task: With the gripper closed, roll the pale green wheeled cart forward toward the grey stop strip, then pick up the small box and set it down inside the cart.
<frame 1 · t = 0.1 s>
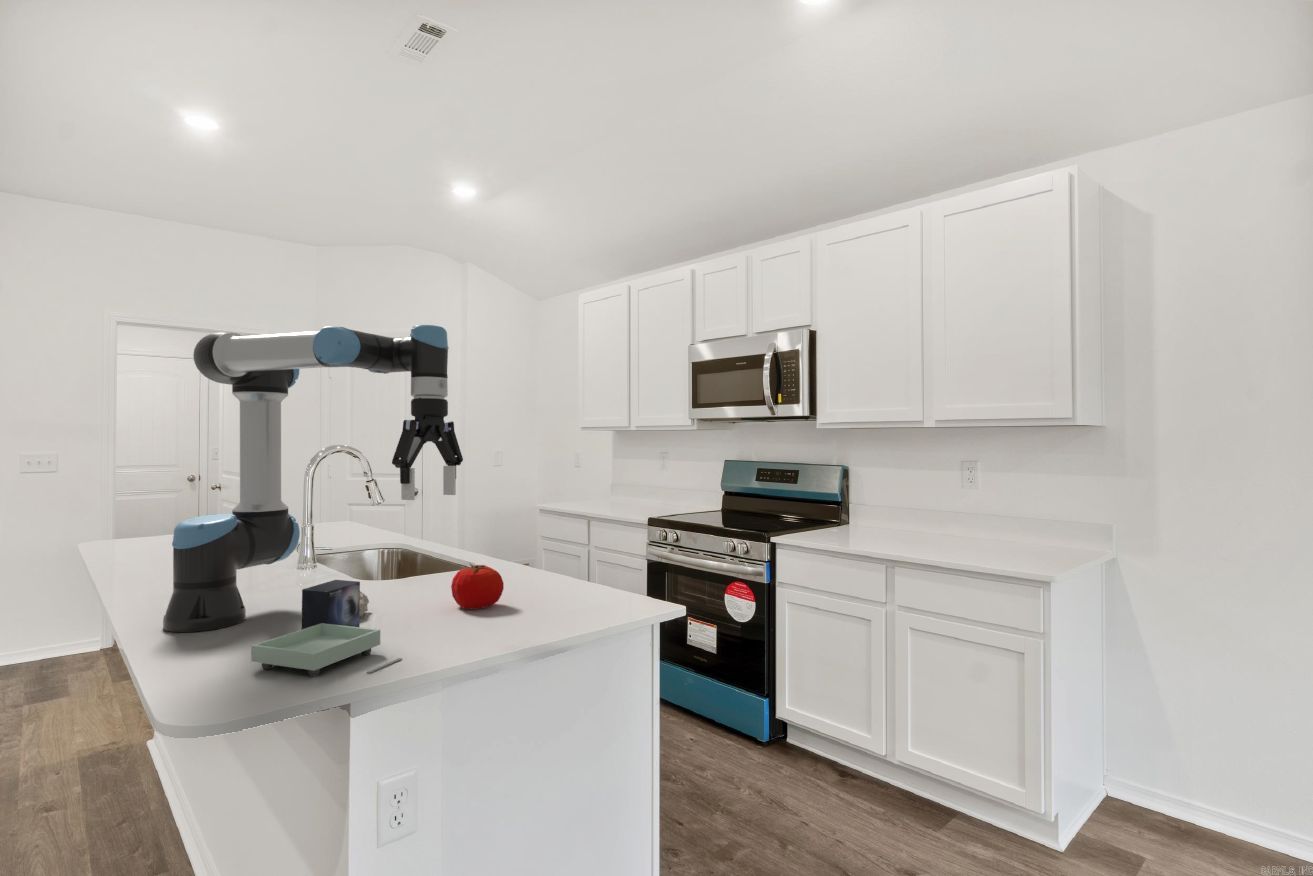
hand: (429, 497, 146), 28 cm above the table, fingers open, 13 cm apart
tomato: (476, 608, 164), on the table
stone: (347, 619, 154), on the table
small box: (331, 636, 141), on the table
stop strip: (384, 666, 121), on the table
cart: (318, 661, 124), on the table
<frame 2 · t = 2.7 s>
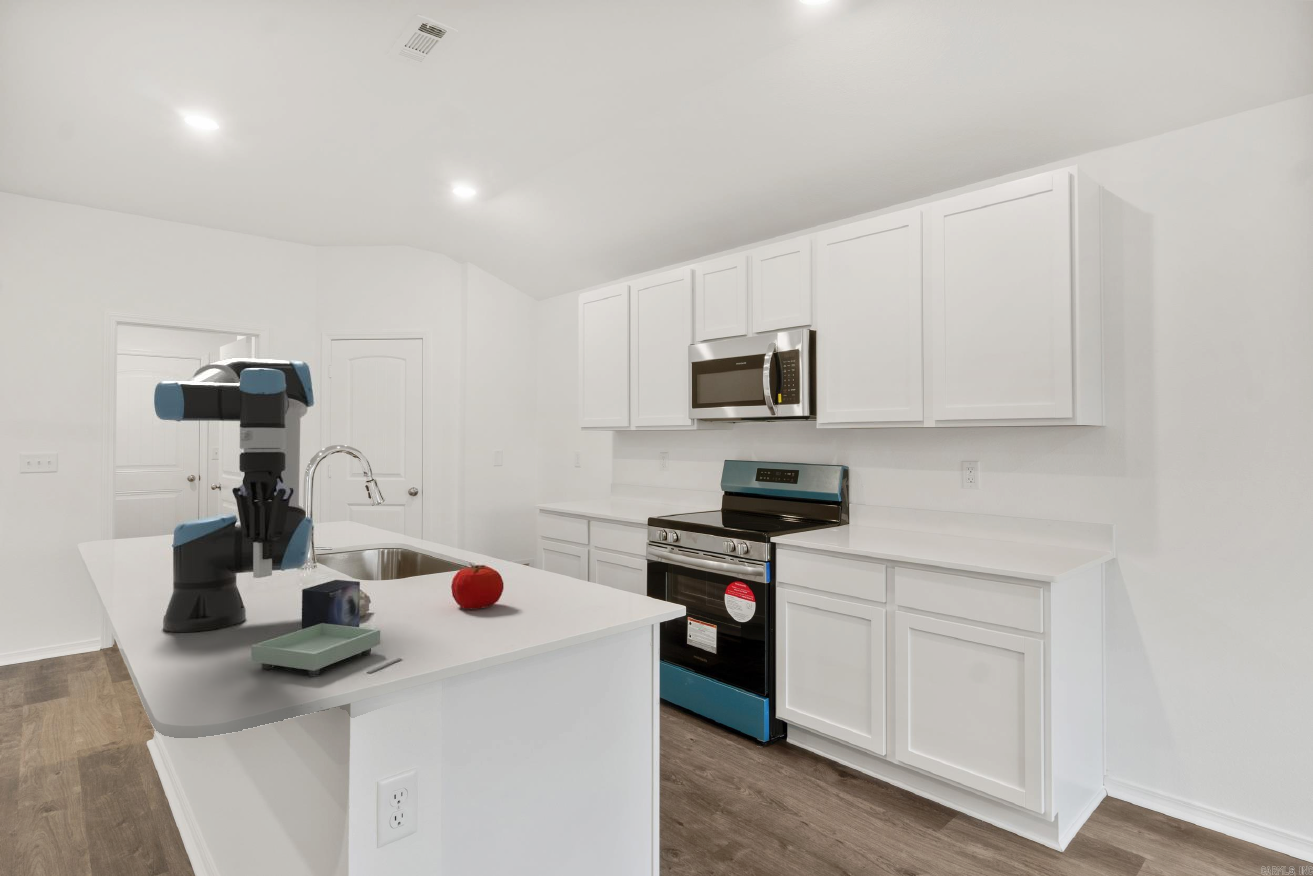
hand: (262, 576, 128), 15 cm above the table, fingers closed
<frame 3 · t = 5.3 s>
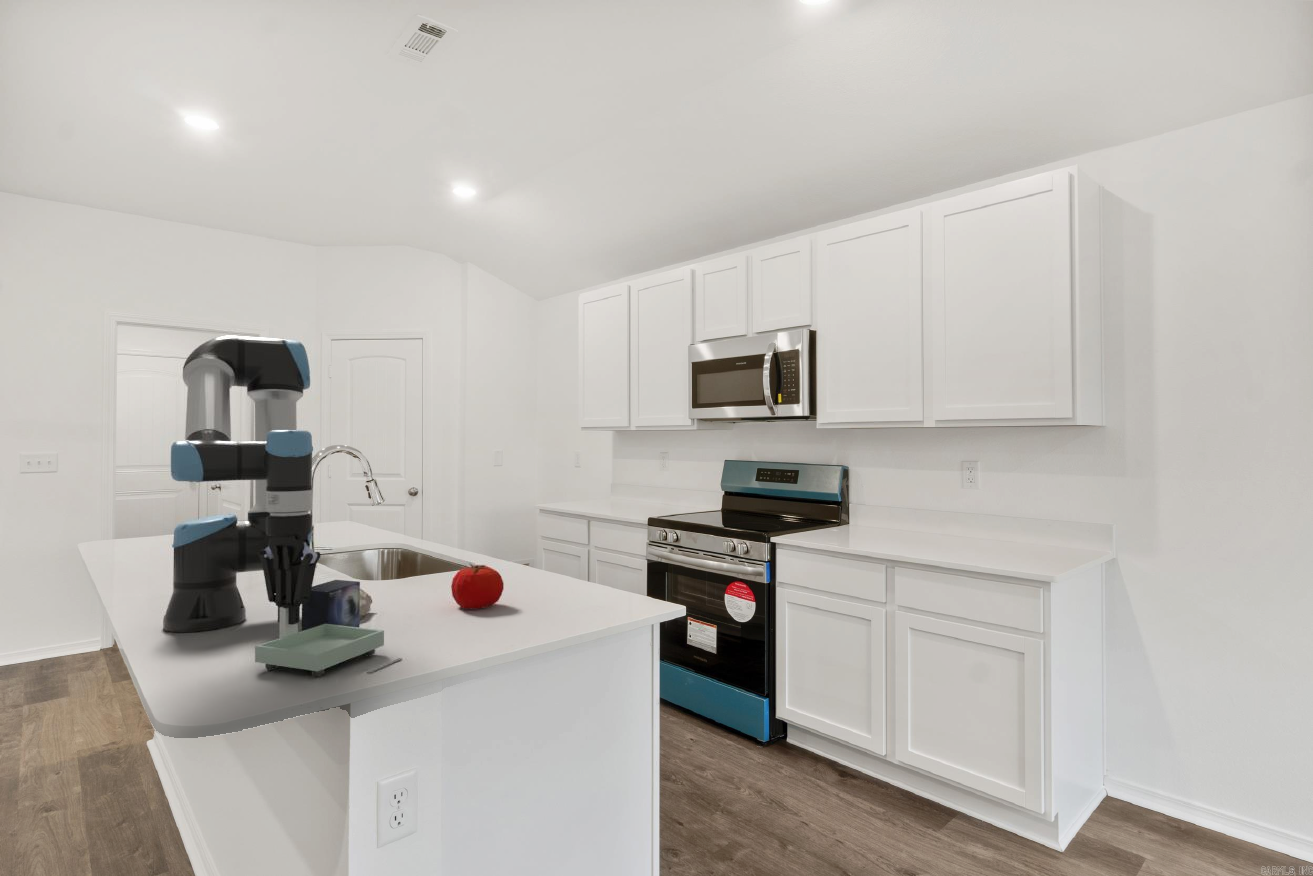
hand: (288, 641, 126), 3 cm above the table, fingers closed
cart: (322, 662, 123), on the table, touching gripper
everything else where it was.
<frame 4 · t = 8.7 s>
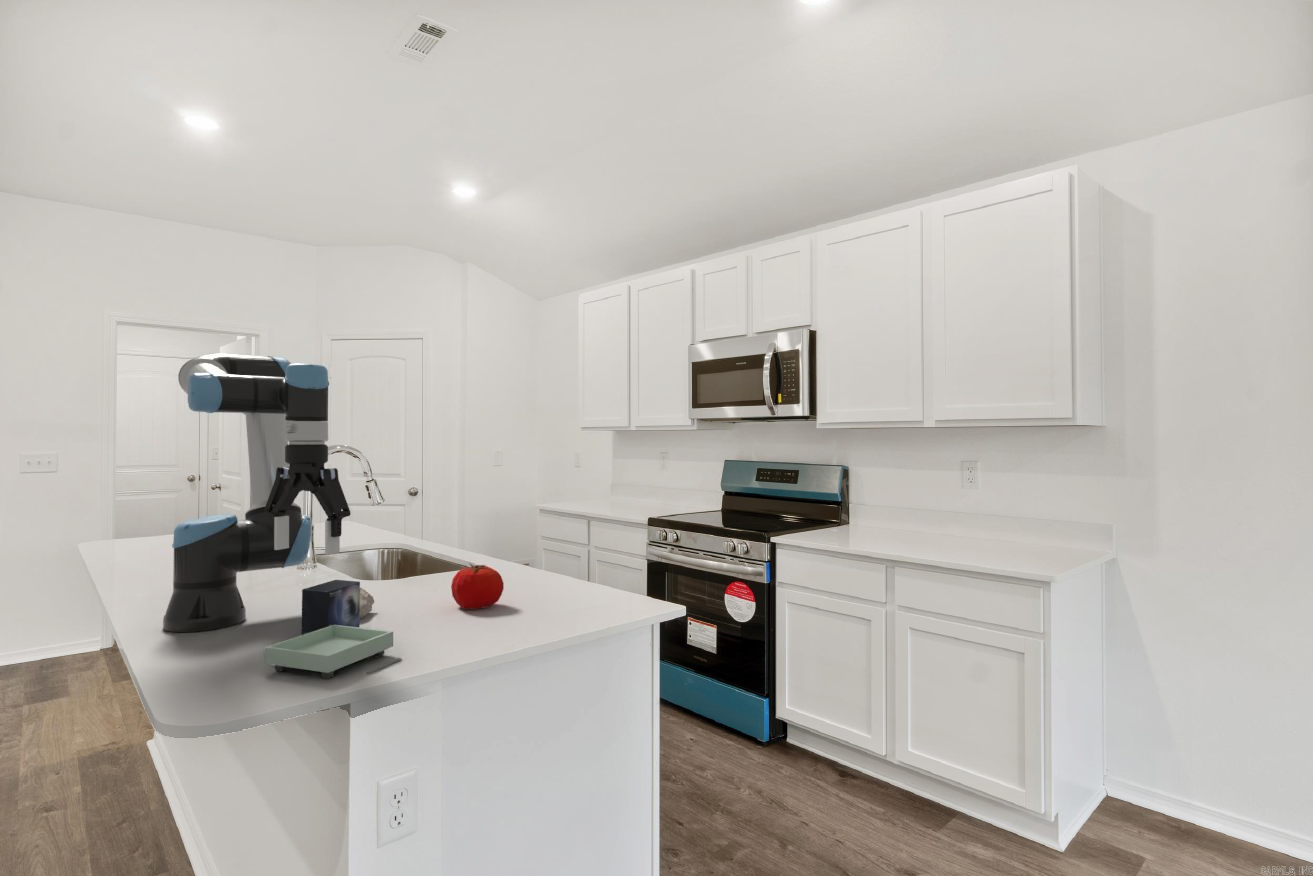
hand: (306, 551, 134), 18 cm above the table, fingers open, 13 cm apart
cart: (331, 663, 123), on the table
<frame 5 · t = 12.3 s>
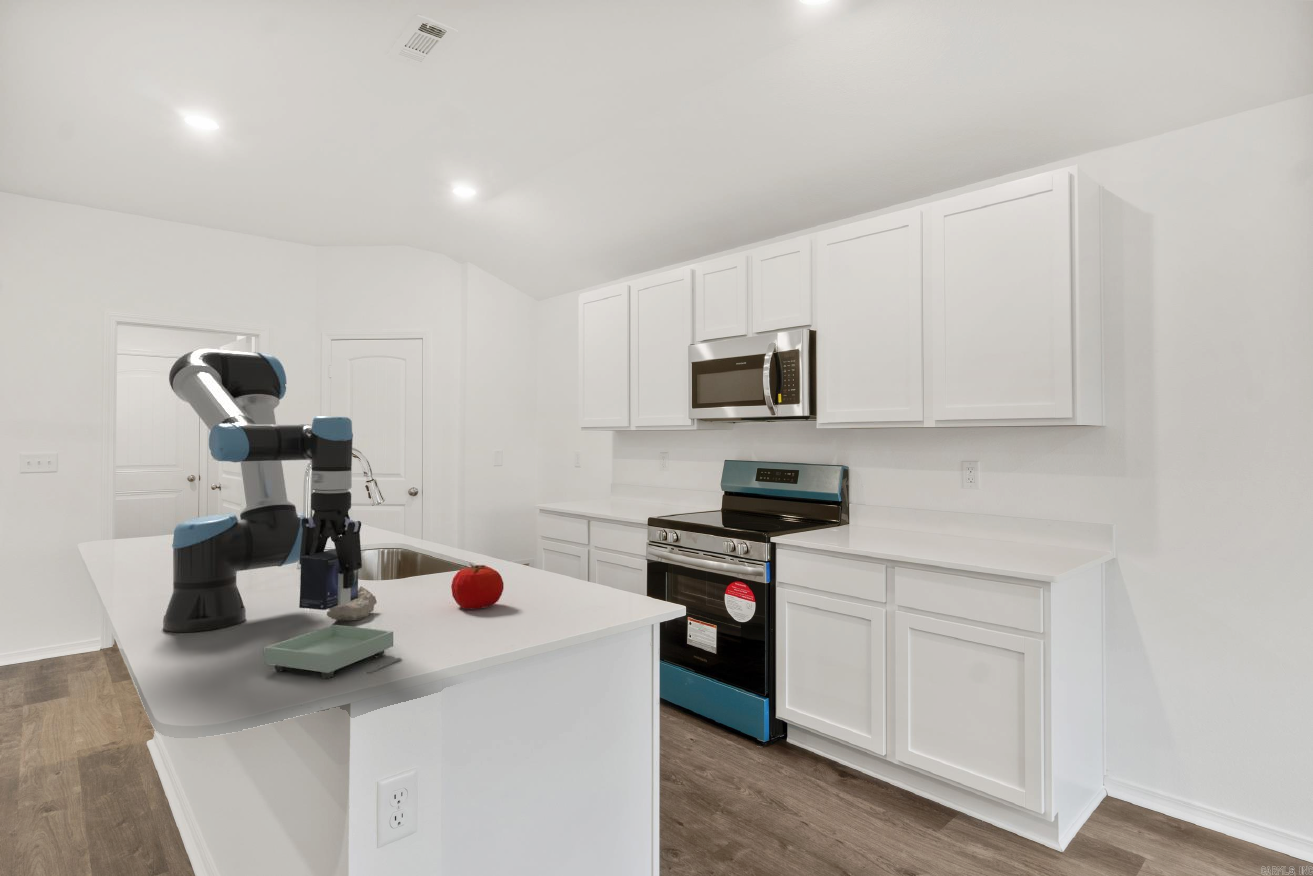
hand: (329, 601, 141), 7 cm above the table, fingers closed on small box, 7 cm apart
small box: (329, 604, 141), point 6 cm above the table, touching gripper
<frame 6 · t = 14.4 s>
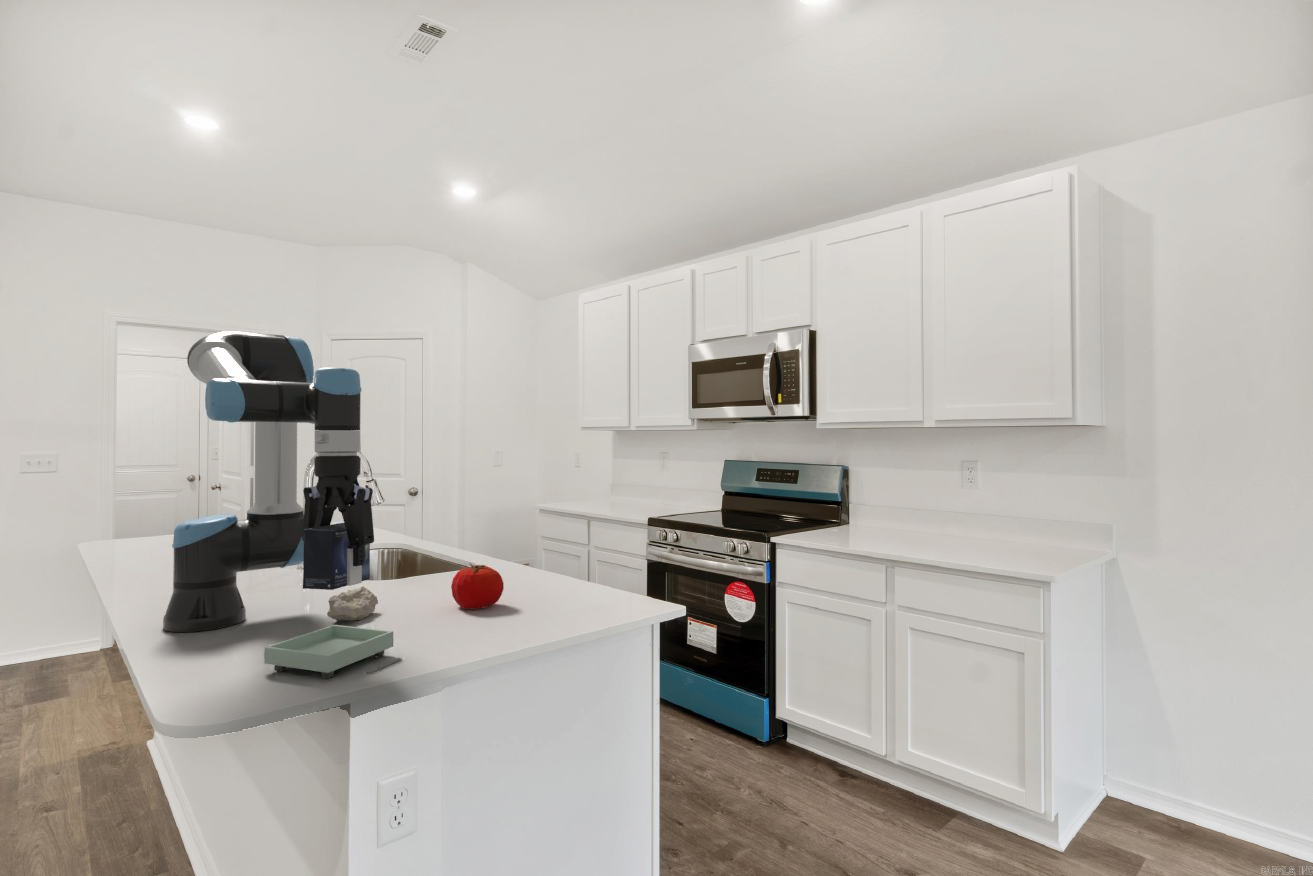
hand: (337, 582, 122), 15 cm above the table, fingers closed on small box, 7 cm apart
small box: (338, 585, 122), point 14 cm above the table, touching gripper
when the fingers open (4 cm above the table, at t = 16.5 s): small box drops 2 cm, resting on cart.
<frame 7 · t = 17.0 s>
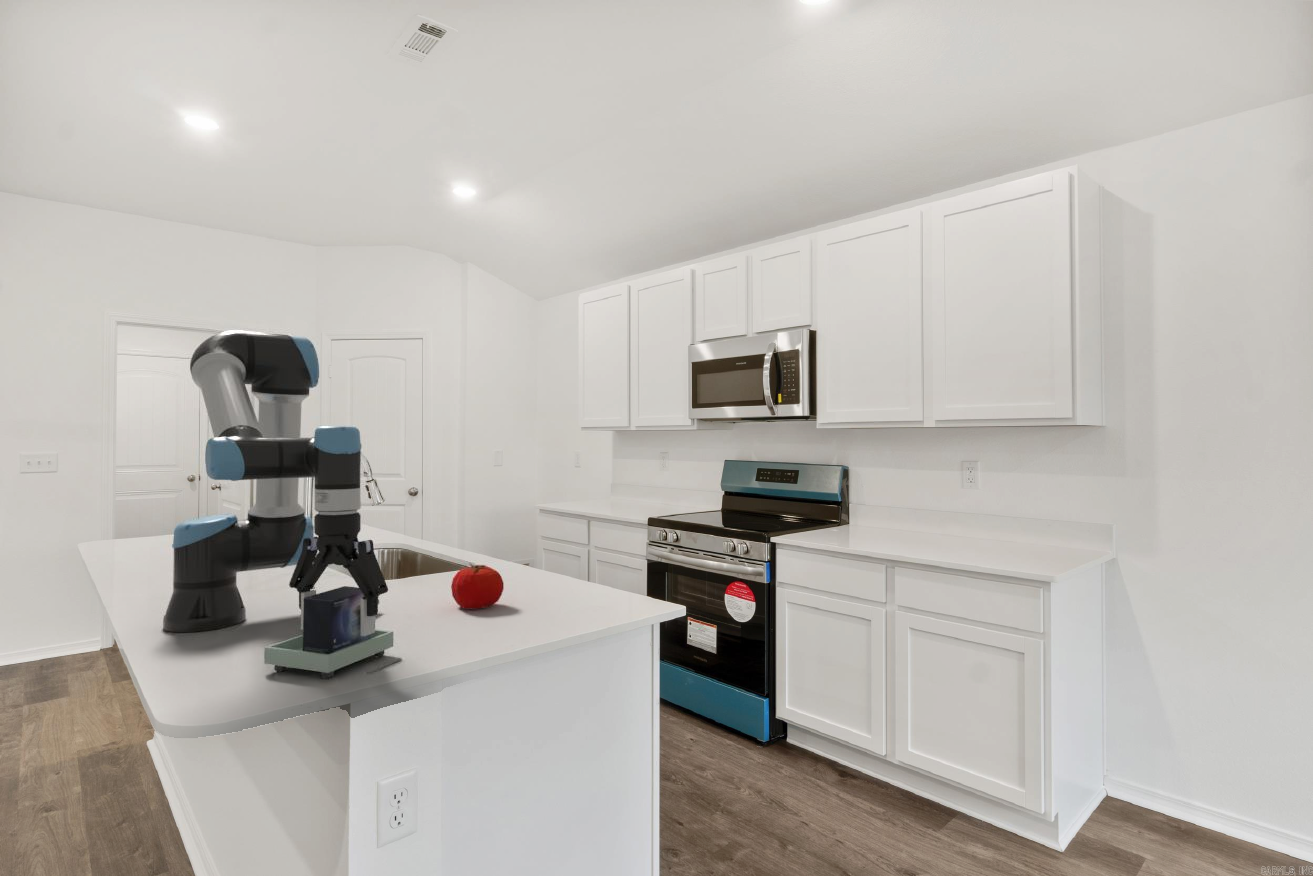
hand: (337, 630, 122), 6 cm above the table, fingers open, 13 cm apart
small box: (338, 652, 122), point 2 cm above the table, touching cart
cart: (331, 663, 123), on the table, touching small box
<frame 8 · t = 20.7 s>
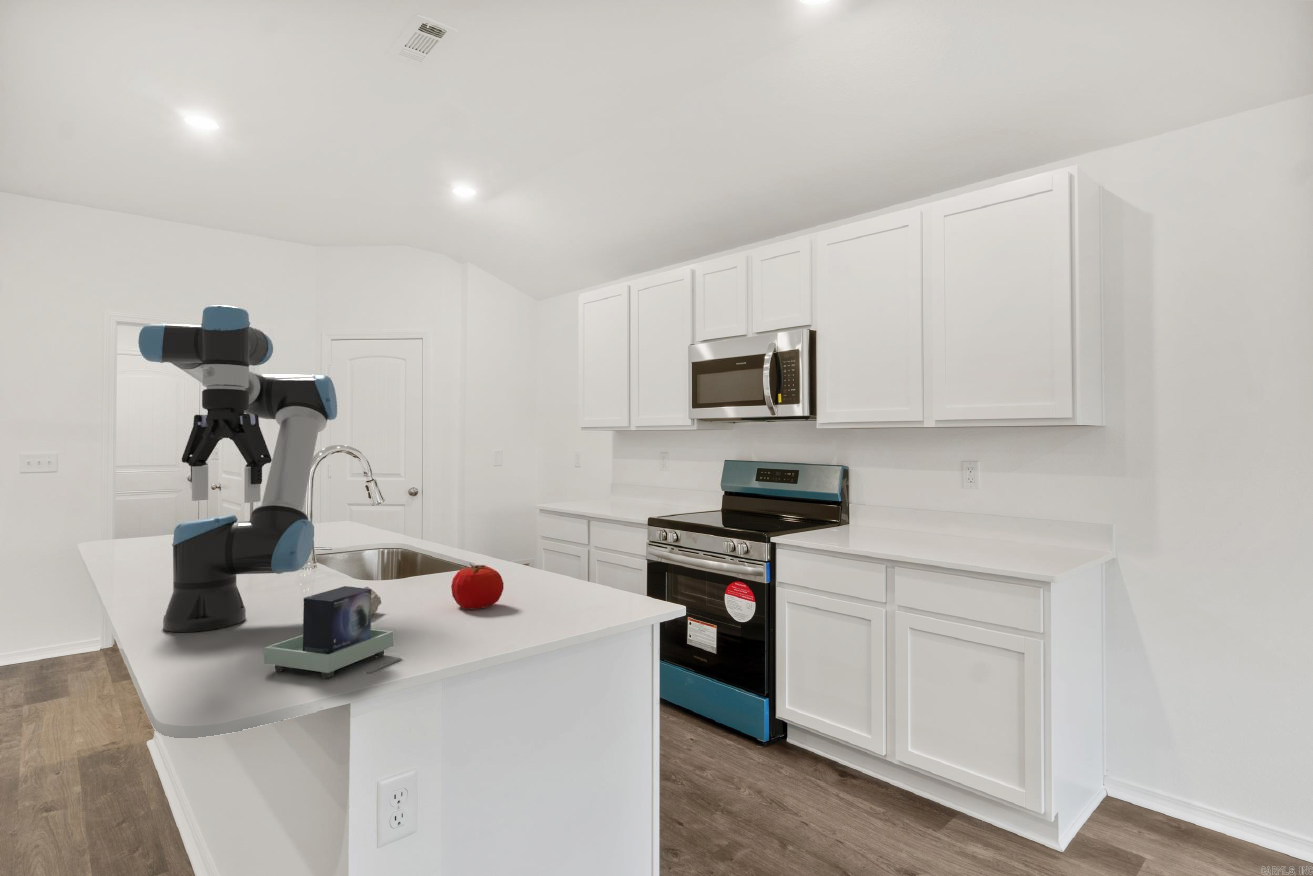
hand: (225, 501, 129), 29 cm above the table, fingers open, 13 cm apart
at the end: small box inside the target area on the cart (1.4 cm from its centre), point 2.2 cm above the cart's base; cart moved 3.1 cm from its start; small box tilted 0° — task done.
